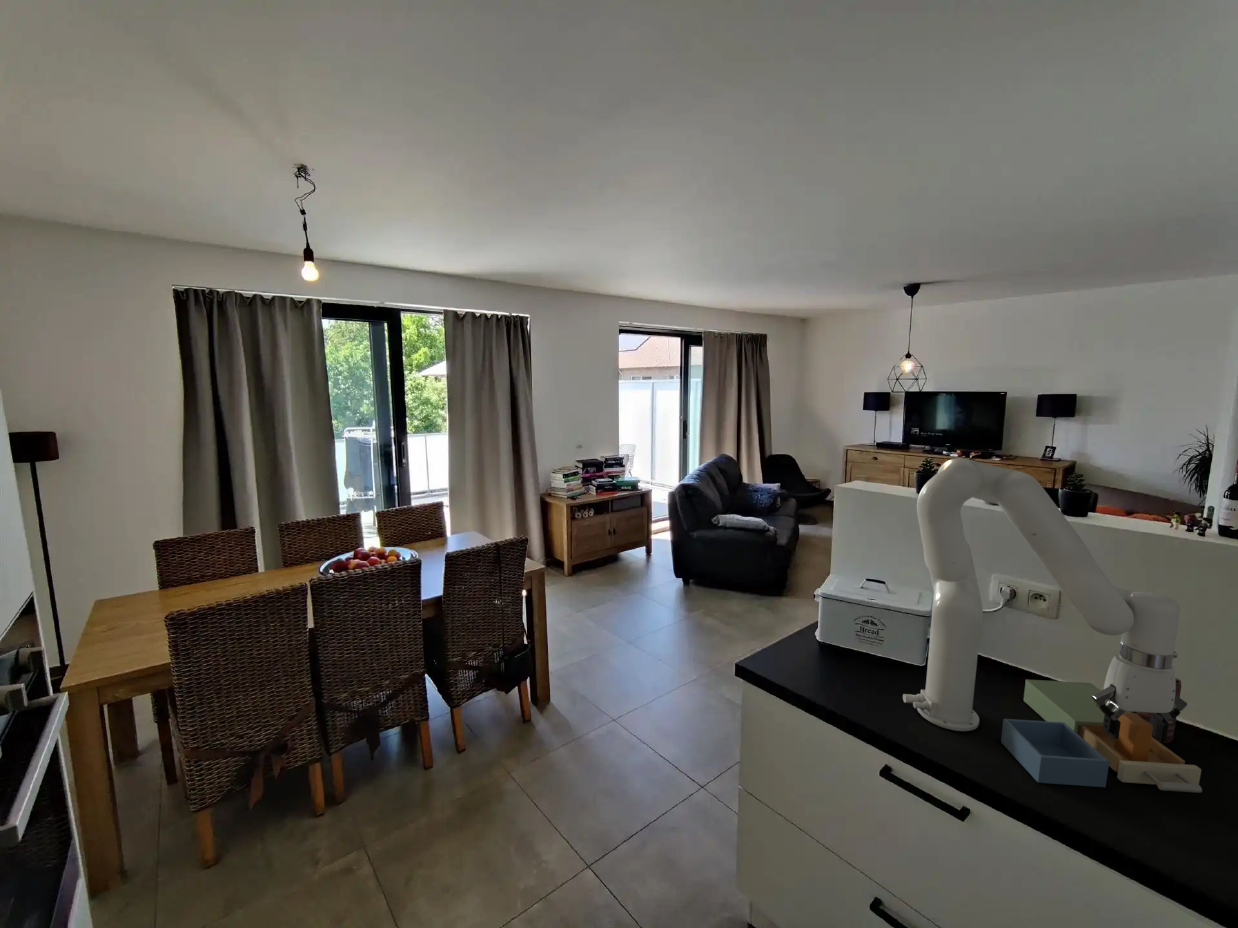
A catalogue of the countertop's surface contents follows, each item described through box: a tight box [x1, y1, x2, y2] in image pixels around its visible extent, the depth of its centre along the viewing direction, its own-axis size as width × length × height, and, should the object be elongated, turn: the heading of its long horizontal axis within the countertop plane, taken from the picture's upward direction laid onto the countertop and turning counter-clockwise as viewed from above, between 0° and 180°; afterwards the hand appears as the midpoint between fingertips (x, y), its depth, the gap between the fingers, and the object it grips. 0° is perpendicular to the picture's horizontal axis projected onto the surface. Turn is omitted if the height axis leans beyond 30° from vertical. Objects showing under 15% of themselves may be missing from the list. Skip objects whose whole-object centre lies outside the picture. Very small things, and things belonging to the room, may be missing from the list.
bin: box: [1000, 718, 1110, 788], centre depth 110 cm, size 12×12×6 cm
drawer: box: [1078, 725, 1203, 794], centre depth 109 cm, size 20×13×4 cm
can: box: [1136, 677, 1182, 744], centre depth 118 cm, size 6×6×14 cm
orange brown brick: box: [1114, 712, 1153, 762], centre depth 109 cm, size 3×4×8 cm
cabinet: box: [1023, 679, 1133, 734], centre depth 123 cm, size 17×15×6 cm
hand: (1133, 735), depth 109 cm, fingers open, 8 cm apart
